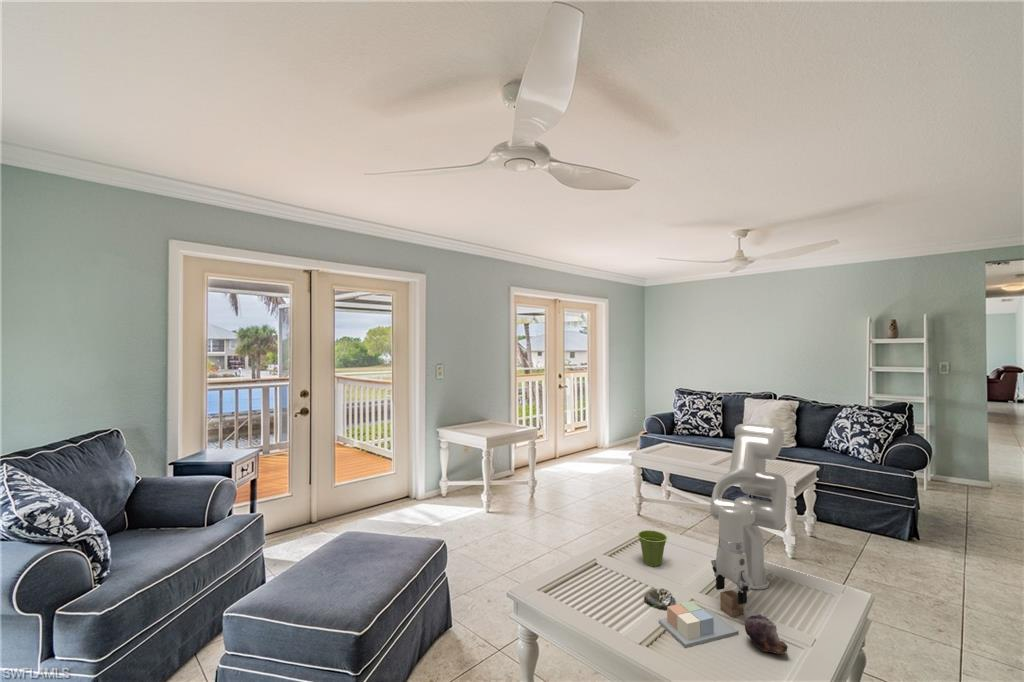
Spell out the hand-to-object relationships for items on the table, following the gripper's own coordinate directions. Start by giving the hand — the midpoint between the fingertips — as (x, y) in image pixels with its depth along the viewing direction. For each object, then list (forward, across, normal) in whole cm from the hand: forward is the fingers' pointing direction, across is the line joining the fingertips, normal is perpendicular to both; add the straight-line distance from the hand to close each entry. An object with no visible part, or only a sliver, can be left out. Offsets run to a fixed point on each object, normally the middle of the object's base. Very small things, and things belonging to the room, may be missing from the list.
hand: (731, 596), depth 154 cm
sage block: (+6, 0, +16) cm, 17 cm away
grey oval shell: (+7, +14, +18) cm, 24 cm away
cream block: (+6, -5, +22) cm, 23 cm away
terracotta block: (+6, 0, +22) cm, 22 cm away
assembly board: (+7, -3, +16) cm, 17 cm away
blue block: (+6, -5, +16) cm, 18 cm away
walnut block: (+6, +1, -1) cm, 6 cm away
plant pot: (+5, +40, +3) cm, 40 cm away
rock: (+7, -16, +4) cm, 18 cm away
